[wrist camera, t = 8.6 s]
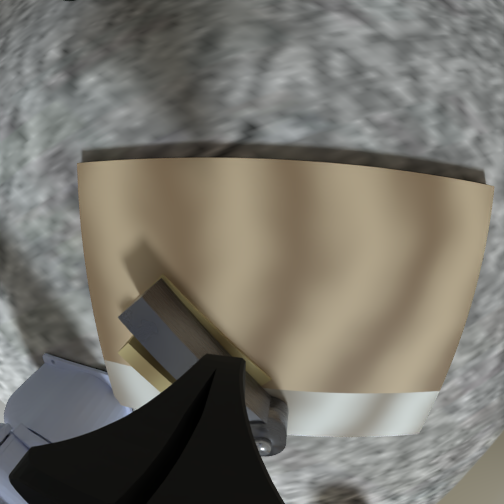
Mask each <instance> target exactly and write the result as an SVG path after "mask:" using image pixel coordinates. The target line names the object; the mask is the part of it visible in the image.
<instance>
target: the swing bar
mask: <svg viewBox="0 0 504 504" xmlns="http://www.w3.org/2000/svg"><path fill="white" fill-rule="evenodd" d="M118 318H119V320H120V321H121V322H122V323H123V324H124V325H125V326H126V328H127V329H128V330H129V331H130V332H131V333H132V334H133V335H134V336H135V338H136V339H137V340H138V341H139V342H140V343H141V344H142V345H143V346H144V347H145V348H146V350H147V351H148V352H149V353H150V354H151V355H152V356H153V357H154V358H155V359H156V360H157V361H158V362H159V363H160V364H161V365H162V366H163V367H164V368H165V369H166V370H167V371H168V372H169V373H170V374H171V375H172V376H173V377H174V378H175V379H176V380H177V379H178V378H180V377H181V376H182V375H183V374H184V373H185V372H186V371H188V370H189V369H190V368H191V367H192V366H193V365H194V364H195V363H196V362H197V361H198V360H199V359H200V358H201V357H203V356H204V355H205V354H206V353H207V354H215V355H222V356H231V355H230V354H229V353H228V352H227V351H226V350H225V349H224V347H223V346H222V345H221V344H220V343H219V342H218V341H217V340H216V339H215V338H214V337H213V336H212V335H211V334H210V332H209V331H208V330H207V329H206V328H205V327H204V326H203V325H202V324H201V323H200V321H199V320H198V319H197V318H196V317H195V316H194V315H193V314H192V312H191V311H190V310H189V309H188V308H187V307H186V306H185V305H184V303H183V302H182V301H181V300H180V299H179V298H178V297H177V295H176V294H175V293H174V292H173V291H172V290H171V288H170V287H169V286H168V285H167V284H166V283H165V281H164V280H163V279H162V278H160V279H159V280H158V281H157V282H156V283H155V284H153V285H152V286H151V287H150V288H149V289H147V290H146V291H145V292H144V293H143V294H141V295H140V296H139V297H138V298H137V299H136V300H135V301H134V302H133V303H132V304H131V305H130V306H129V307H128V308H127V309H126V310H124V311H123V312H122V313H121V314H120V315H119V316H118ZM231 357H232V356H231ZM245 404H246V409H247V414H248V418H249V422H250V426H251V430H252V433H253V436H254V439H255V442H256V445H257V448H258V451H259V453H260V456H272V455H276V454H278V453H280V452H281V451H283V450H284V448H285V446H286V437H287V425H288V414H289V409H288V406H287V405H286V404H285V402H283V401H282V400H281V399H279V398H276V397H273V396H271V395H270V394H269V393H268V392H267V391H265V390H264V389H263V388H262V387H261V386H260V385H259V384H258V383H257V382H256V381H255V380H254V379H253V378H252V377H251V376H250V374H249V373H248V372H247V371H246V377H245Z"/></svg>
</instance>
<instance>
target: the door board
mask: <svg viewBox="0 0 504 504" xmlns="http://www.w3.org/2000/svg"><path fill="white" fill-rule="evenodd" d="M77 173H78V194H79V209H80V221H81V232H82V241H83V250H84V257H85V265H86V272H87V278H88V285H89V291H90V296H91V302H92V307H93V312H94V317H95V322H96V327H97V332H98V336H99V341H100V345H101V349H102V353H103V357H104V361H105V365H106V369H107V373H108V376H109V380H110V383H111V387H112V390H113V394H114V396H115V398H116V399H117V400H118V401H119V403H120V405H122V406H126V407H129V408H133V409H138V408H140V407H142V406H143V405H145V404H146V403H148V402H149V401H150V400H152V399H153V398H154V397H156V396H157V395H159V394H160V393H161V392H163V391H164V390H165V389H167V388H168V387H169V386H170V385H171V384H173V383H174V382H175V381H176V379H175V378H174V377H173V376H172V375H171V374H170V373H169V372H168V371H167V370H166V369H165V368H164V367H163V366H162V365H161V364H160V363H159V362H158V361H157V360H156V359H155V358H154V357H153V356H152V355H151V354H150V353H149V352H148V351H147V350H146V348H145V347H144V346H143V345H142V344H141V343H140V342H139V341H138V340H137V339H136V338H135V336H134V335H133V334H132V333H131V332H130V331H129V330H128V329H127V328H126V326H125V325H124V324H123V323H122V322H121V321H120V320H119V318H118V316H119V315H120V314H121V313H122V312H123V311H124V310H126V309H127V308H128V307H129V306H130V305H131V304H132V303H133V302H134V301H135V300H136V299H137V298H138V297H139V296H140V295H141V294H143V293H144V292H145V291H146V290H147V289H149V288H150V287H151V286H152V285H153V284H155V283H156V282H157V281H158V280H159V279H160V278H162V279H163V280H164V281H165V283H166V284H167V285H168V286H169V287H170V288H171V290H172V291H173V292H174V293H175V294H176V295H177V297H178V298H179V299H180V300H181V301H182V302H183V303H184V305H185V306H186V307H187V308H188V309H189V310H190V311H191V312H192V314H193V315H194V316H195V317H196V318H197V319H198V320H199V321H200V323H201V324H202V325H203V326H204V327H205V328H206V329H207V330H208V331H209V332H210V334H211V335H212V336H213V337H214V338H215V339H216V340H217V341H218V342H219V343H220V344H221V345H222V346H223V347H224V349H225V350H226V351H227V352H228V353H229V354H230V355H231V356H232V357H239V358H243V359H244V360H245V361H246V371H247V372H248V373H249V374H250V376H251V377H252V378H253V379H254V380H255V381H256V382H257V383H258V384H259V385H260V386H261V387H262V388H263V389H264V390H265V391H267V392H268V393H269V394H270V395H271V396H273V397H276V398H279V399H281V400H282V401H283V402H285V404H286V405H287V406H288V409H289V414H288V425H287V435H298V436H318V437H378V436H397V435H411V434H419V432H420V430H421V428H422V427H423V425H424V423H425V421H426V419H427V417H428V415H429V413H430V411H431V408H432V406H433V404H434V402H435V400H436V398H437V396H438V393H439V391H440V389H441V387H442V384H443V382H444V380H445V377H446V375H447V372H448V370H449V367H450V365H451V362H452V360H453V357H454V355H455V352H456V349H457V346H458V344H459V341H460V338H461V335H462V332H463V329H464V326H465V323H466V320H467V317H468V314H469V310H470V307H471V303H472V300H473V296H474V293H475V289H476V285H477V281H478V277H479V273H480V269H481V265H482V260H483V256H484V251H485V246H486V241H487V235H488V229H489V223H490V217H491V210H492V203H493V195H494V186H490V185H487V184H482V183H477V182H471V181H466V180H461V179H455V178H449V177H443V176H437V175H431V174H424V173H418V172H411V171H403V170H396V169H388V168H380V167H371V166H362V165H352V164H341V163H330V162H317V161H302V160H285V159H263V158H225V157H185V158H147V159H125V160H109V161H95V162H83V163H77Z"/></svg>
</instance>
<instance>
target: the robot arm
mask: <svg viewBox="0 0 504 504" xmlns="http://www.w3.org/2000/svg"><path fill="white" fill-rule="evenodd" d="M43 360H44V364H43V365H42V366H41V367H40V368H39V369H38V370H37V371H36V372H35V373H34V374H32V375H31V376H30V377H29V378H28V379H27V380H26V381H25V382H24V383H23V384H22V385H21V386H20V387H19V388H18V389H17V390H16V391H15V392H14V393H13V394H12V395H11V397H10V398H9V400H8V402H7V404H6V408H5V412H4V422H5V424H4V423H0V504H285V503H284V501H283V500H282V498H281V497H280V495H279V493H278V491H277V489H276V488H275V486H274V484H273V482H272V480H271V478H270V476H269V474H268V472H267V469H266V467H265V465H264V463H263V461H262V458H261V456H260V453H259V451H258V448H257V445H256V442H255V439H254V436H253V433H252V430H251V426H250V422H249V418H248V414H247V409H246V404H245V377H246V361H245V360H244V359H243V358H239V357H231V356H222V355H215V354H207V353H206V354H205V355H204V356H203V357H201V358H200V359H199V360H198V361H197V362H196V363H195V364H194V365H193V366H192V367H191V368H190V369H189V370H188V371H186V372H185V373H184V374H183V375H182V376H181V377H180V378H178V379H177V380H176V381H175V382H174V383H173V384H171V385H170V386H169V387H168V388H167V389H165V390H164V391H163V392H161V393H160V394H159V395H157V396H156V397H154V398H153V399H152V400H150V401H149V402H148V403H146V404H145V405H143V406H142V407H140V408H138V409H137V410H135V411H132V408H129V407H126V406H122V405H120V403H119V401H118V400H117V399H116V398H115V396H114V394H113V390H112V387H111V383H110V380H109V376H108V373H107V372H105V371H102V370H98V369H94V368H91V367H88V366H84V365H81V364H78V363H74V362H71V361H68V360H65V359H62V358H59V357H56V356H53V355H50V354H47V353H45V354H44V355H43Z"/></svg>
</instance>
